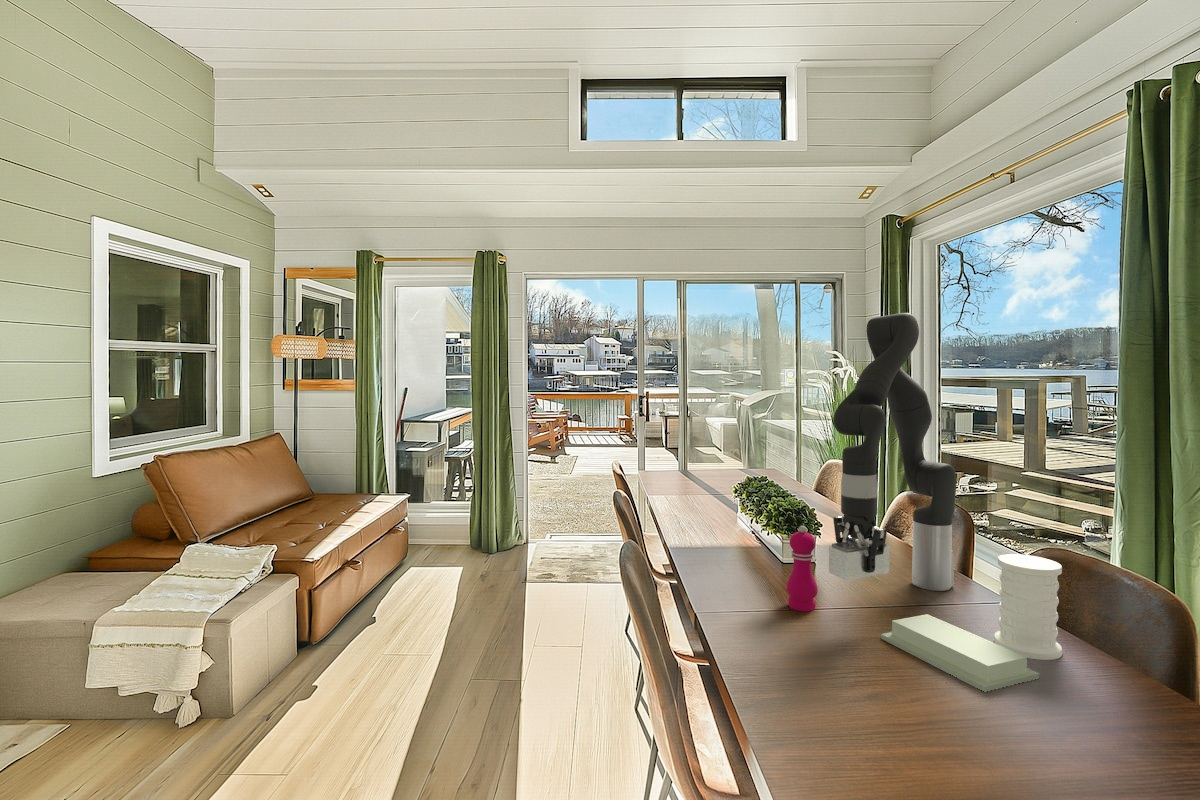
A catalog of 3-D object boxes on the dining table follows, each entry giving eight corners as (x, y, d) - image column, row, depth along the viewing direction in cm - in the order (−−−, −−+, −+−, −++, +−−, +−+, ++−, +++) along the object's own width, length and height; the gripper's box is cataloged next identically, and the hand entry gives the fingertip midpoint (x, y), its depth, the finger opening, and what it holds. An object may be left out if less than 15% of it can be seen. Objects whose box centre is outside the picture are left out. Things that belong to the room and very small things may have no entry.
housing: (870, 565, 143) (871, 537, 143) (889, 573, 138) (889, 544, 138) (828, 572, 139) (828, 543, 139) (846, 580, 134) (846, 550, 134)
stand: (930, 628, 137) (930, 611, 137) (1039, 678, 115) (1039, 657, 115) (880, 638, 132) (881, 620, 132) (984, 692, 110) (985, 670, 110)
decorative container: (1050, 639, 132) (1052, 556, 131) (1071, 663, 121) (1073, 573, 120) (987, 632, 135) (989, 551, 135) (1002, 655, 124) (1004, 567, 124)
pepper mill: (819, 613, 147) (820, 530, 146) (787, 611, 148) (788, 528, 147) (815, 602, 154) (816, 522, 153) (785, 600, 155) (785, 521, 154)
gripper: (897, 498, 132) (897, 575, 133) (849, 486, 146) (848, 557, 146) (870, 501, 130) (869, 580, 130) (823, 489, 143) (823, 561, 144)
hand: (858, 567), depth 138 cm, fingers closed on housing, 5 cm apart
